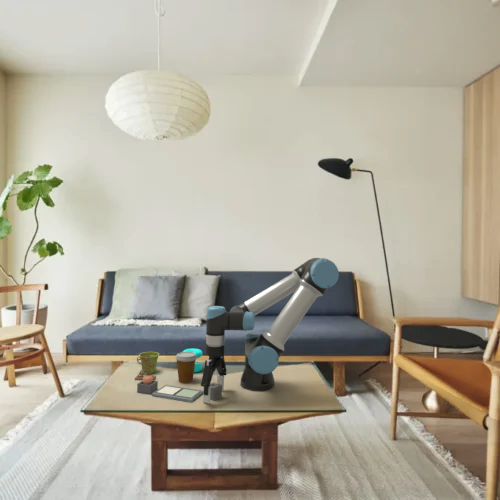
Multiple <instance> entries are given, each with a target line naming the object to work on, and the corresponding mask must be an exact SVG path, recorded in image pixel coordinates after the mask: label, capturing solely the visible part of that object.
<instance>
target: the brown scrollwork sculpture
mask: <svg viewBox="0 0 500 500" xmlns="http://www.w3.org/2000/svg"><path fill="white" fill-rule="evenodd" d="M143 353H144V352H143ZM144 354H148V353H144ZM148 355H149V354H148ZM143 357H149V358H150V355H149V356H145V355H144V356H143V355H142V359H143V360H142V359H141V357H140V356H137V357H136V362H137V363H138V364H139V365H141V370H140V372H139V373H138V375H137V376H135V377H134V381H143V377H144V376H145V375H146V376H153V380H154V381H156V379H157V376H156V375H153V373H151V371H150V370H149V365H150V364H148V368H146V363H147V362H148V361H150V362H152V361H151V360H149V359H148V358H147V359H148V360H147V359H145V358H143ZM144 359H145V360H144ZM139 361H140V362H139ZM141 361H144V363H145V367H143V364H141ZM152 363H153V362H152ZM151 366H154V363H153V365H150V368H154V367H151ZM142 369H148V370H149V372H150V374H148V373H147V372H146V370H145V372H146V374H144V373H145V372H144V373H143V374H142Z"/></svg>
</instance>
